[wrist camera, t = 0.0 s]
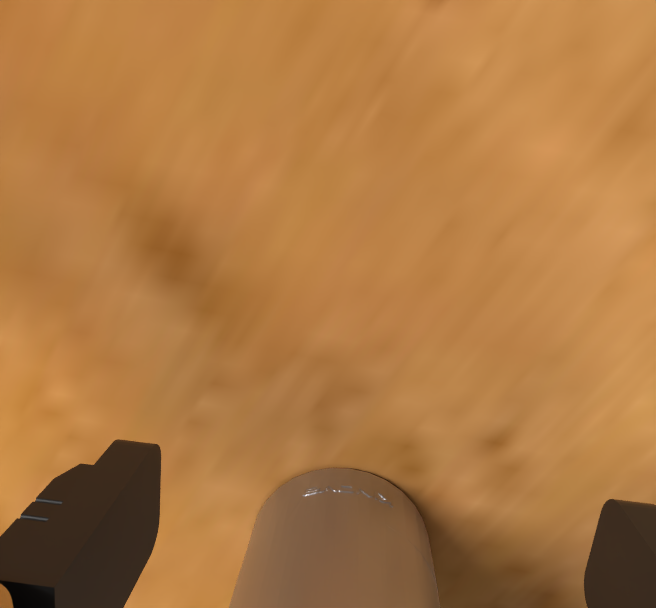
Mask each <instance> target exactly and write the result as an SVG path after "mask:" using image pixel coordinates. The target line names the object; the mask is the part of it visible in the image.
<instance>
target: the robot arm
mask: <svg viewBox="0 0 656 608" xmlns="http://www.w3.org/2000/svg"><path fill="white" fill-rule="evenodd" d="M160 479H161V450H160V447H159V445H157V444H150V443H142V442H134V441H126V440H115V441H114V442H113V443H112V444H111V445H110V446H109V448H108V449H107V450H106V451H105V452H104V454H103V455H102V456H101V457H100V458H99V460H98V461H97V462H96V463H95V464H94V465H88V464H79V465H77V466H76V467H74V468H72V469H70V470H69V471H67V472H65V473H63V474H61V475H60V476H58V477H56V478H54V479H53V480H52V481H51V482H50V484H49V485H48V486H47V487H46V488H45V489H44V490H43V491H42V492H41V493H40V494H39V495H38V497H37V498H36V501H35V502H32V503H31V504H30V505H29V506H28V507H27V508H26V509H25V511H24V512H23V513H22V514H21V517H20V519H18V518H17V519H16V520H15V521H14V522H13V524H12V525H11V526H10V527H9V528H8V529H7V530H6V531H5V532H4V533H3V534H2V535H1V537H0V608H123V607H124V605H125V603H126V602H127V600H128V598H129V596H130V594H131V592H132V590H133V588H134V586H135V584H136V582H137V580H138V578H139V576H140V575H141V573H142V571H143V569H144V567H145V565H146V563H147V561H148V559H149V557H150V555H151V553H152V550H153V547H154V544H155V541H156V537H157V532H158V527H159V517H160ZM584 591H585V598H586V603H587V606H588V608H656V505H654V504H647V503H639V502H631V501H622V500H614V499H610V500H608V501H607V502H606V503H605V504H604V506H603V508H602V511H601V514H600V518H599V521H598V525H597V529H596V533H595V537H594V540H593V544H592V548H591V552H590V555H589V559H588V563H587V567H586V571H585V577H584ZM229 608H441V607H440V601H439V595H438V588H437V582H436V577H435V571H434V565H433V560H432V554H431V548H430V543H429V537H428V533H427V530H426V527H425V524H424V521H423V518H422V517H421V515H420V513H419V512H418V510H417V508H416V507H415V505H414V504H413V503H412V502H411V500H410V499H409V498H408V497H407V496H406V495H405V494H404V493H403V492H402V491H401V490H399V489H398V488H397V487H395V486H394V485H392V484H391V483H389V482H388V481H386V480H384V479H382V478H380V477H377V476H375V475H373V474H371V473H368V472H363V471H359V470H354V469H349V468H327V469H321V470H315V471H311V472H308V473H305V474H303V475H300V476H297V477H295V478H293V479H291V480H290V481H288V482H287V483H285V484H284V485H282V486H281V487H279V488H278V489H277V490H276V491H275V492H274V493H273V494H272V495H271V496H270V497H269V498H268V499H267V500H266V502H265V504H264V505H263V507H262V509H261V510H260V512H259V513H258V516H257V519H256V522H255V525H254V528H253V531H252V535H251V538H250V541H249V544H248V548H247V551H246V554H245V557H244V561H243V564H242V567H241V570H240V572H239V576H238V579H237V582H236V586H235V589H234V592H233V596H232V599H231V602H230V606H229Z"/></svg>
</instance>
